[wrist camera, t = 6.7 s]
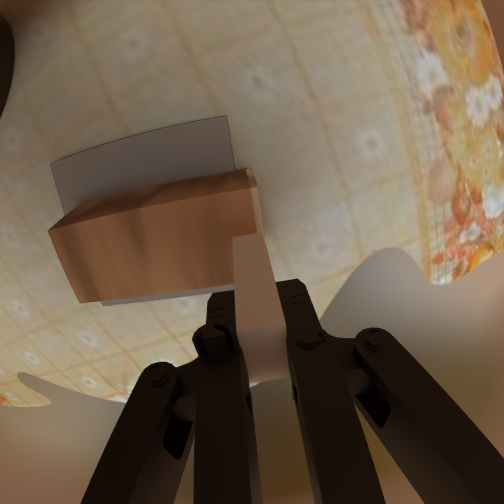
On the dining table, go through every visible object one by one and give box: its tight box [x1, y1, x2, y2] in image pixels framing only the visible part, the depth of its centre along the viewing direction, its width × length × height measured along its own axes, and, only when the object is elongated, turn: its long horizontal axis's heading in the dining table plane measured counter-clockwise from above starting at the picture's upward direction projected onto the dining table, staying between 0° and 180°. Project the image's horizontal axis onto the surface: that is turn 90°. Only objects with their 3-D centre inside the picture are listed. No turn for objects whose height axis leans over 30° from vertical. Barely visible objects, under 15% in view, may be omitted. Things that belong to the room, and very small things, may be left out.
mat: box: [50, 116, 235, 306], centre depth 22 cm, size 14×14×1 cm
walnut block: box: [48, 168, 265, 303], centre depth 20 cm, size 5×6×14 cm
